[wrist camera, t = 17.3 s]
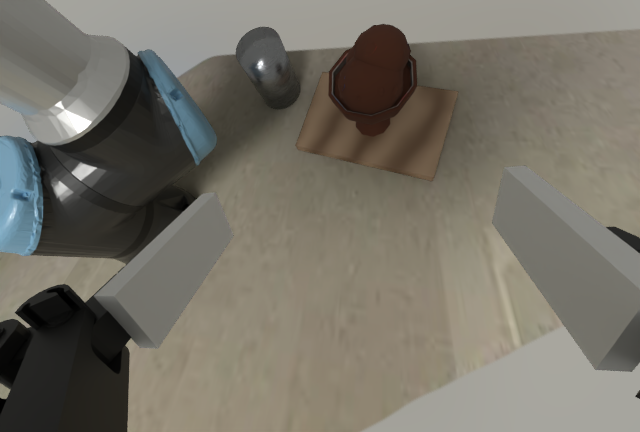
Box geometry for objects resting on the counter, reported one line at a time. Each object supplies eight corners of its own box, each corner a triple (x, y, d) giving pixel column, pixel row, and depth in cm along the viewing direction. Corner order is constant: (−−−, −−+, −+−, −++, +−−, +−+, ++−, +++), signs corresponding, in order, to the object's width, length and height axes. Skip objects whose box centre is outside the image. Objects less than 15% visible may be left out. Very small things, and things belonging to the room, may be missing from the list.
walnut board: (298, 149, 45) (295, 145, 44) (324, 78, 47) (322, 71, 45) (431, 181, 39) (433, 177, 38) (455, 97, 41) (458, 91, 40)
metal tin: (258, 105, 49) (229, 64, 39) (271, 72, 50) (246, 24, 40) (292, 112, 47) (270, 71, 37) (305, 77, 48) (287, 29, 38)
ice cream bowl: (349, 85, 44) (336, -7, 29) (418, 97, 41) (440, 1, 26) (328, 143, 42) (303, 76, 28) (398, 159, 39) (409, 94, 25)
